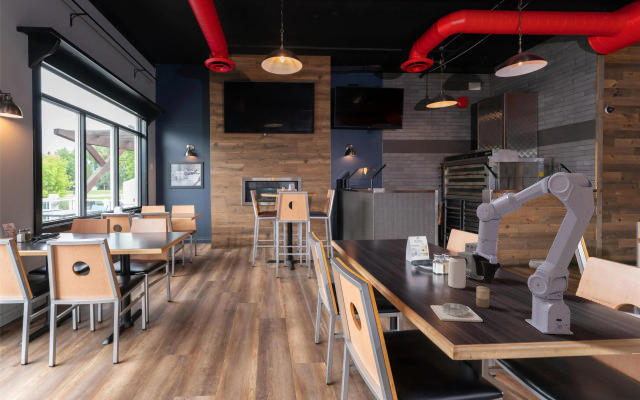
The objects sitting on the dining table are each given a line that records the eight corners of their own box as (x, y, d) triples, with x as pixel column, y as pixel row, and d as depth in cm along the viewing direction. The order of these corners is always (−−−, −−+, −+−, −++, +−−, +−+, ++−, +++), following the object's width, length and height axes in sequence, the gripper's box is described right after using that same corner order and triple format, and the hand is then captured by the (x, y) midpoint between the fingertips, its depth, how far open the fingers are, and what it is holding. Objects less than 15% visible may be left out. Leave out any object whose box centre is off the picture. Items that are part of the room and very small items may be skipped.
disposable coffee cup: (522, 290, 135) (522, 260, 134) (539, 288, 138) (540, 258, 138) (545, 298, 126) (546, 265, 125) (563, 295, 129) (564, 263, 129)
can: (466, 289, 136) (467, 258, 135) (449, 288, 137) (450, 258, 137) (463, 284, 142) (464, 255, 142) (446, 283, 143) (447, 255, 143)
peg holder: (482, 322, 102) (482, 314, 102) (441, 320, 103) (441, 313, 103) (467, 308, 114) (467, 301, 114) (430, 307, 115) (430, 300, 115)
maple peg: (491, 307, 115) (491, 289, 114) (478, 307, 115) (479, 289, 115) (486, 304, 118) (486, 286, 118) (474, 303, 119) (474, 286, 119)
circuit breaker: (454, 277, 154) (455, 244, 154) (477, 274, 160) (478, 242, 160) (468, 281, 148) (468, 246, 147) (491, 278, 154) (492, 244, 153)
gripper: (468, 234, 123) (465, 271, 124) (482, 243, 109) (478, 285, 110) (489, 235, 122) (485, 273, 124) (506, 244, 108) (501, 287, 109)
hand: (483, 279), depth 117 cm, fingers open, 7 cm apart
